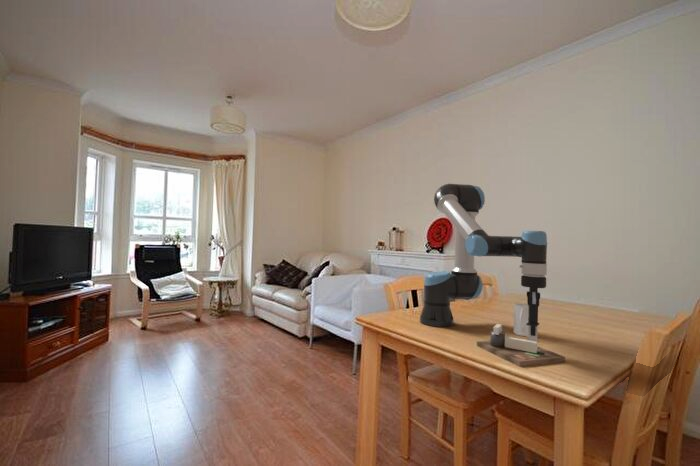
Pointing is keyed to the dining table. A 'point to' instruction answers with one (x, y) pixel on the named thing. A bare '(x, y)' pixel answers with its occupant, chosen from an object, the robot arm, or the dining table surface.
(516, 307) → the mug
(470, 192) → the robot arm
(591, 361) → the dining table surface
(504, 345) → the peg lever
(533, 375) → the dining table surface
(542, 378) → the dining table surface
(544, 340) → the dining table surface
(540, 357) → the board
